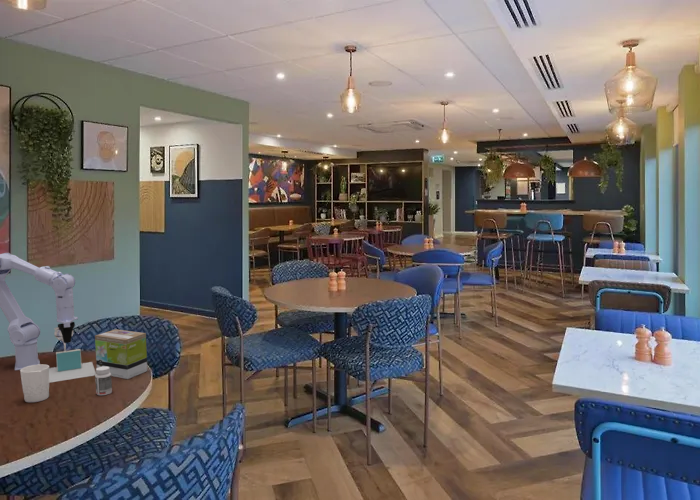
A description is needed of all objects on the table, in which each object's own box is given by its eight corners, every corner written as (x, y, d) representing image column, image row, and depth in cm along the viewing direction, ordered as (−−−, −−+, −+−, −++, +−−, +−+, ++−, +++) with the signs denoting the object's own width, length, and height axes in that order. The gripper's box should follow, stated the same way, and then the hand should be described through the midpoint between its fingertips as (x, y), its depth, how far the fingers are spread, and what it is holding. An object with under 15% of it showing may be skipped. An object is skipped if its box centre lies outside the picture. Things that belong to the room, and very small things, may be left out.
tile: (57, 371, 195) (55, 352, 195) (81, 367, 199) (80, 349, 199) (57, 372, 194) (56, 353, 193) (81, 368, 198) (80, 350, 197)
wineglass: (69, 359, 210) (67, 329, 209) (52, 359, 210) (50, 329, 209) (78, 354, 217) (76, 325, 216) (61, 354, 217) (59, 325, 216)
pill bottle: (115, 391, 175) (114, 366, 174) (104, 396, 171) (103, 371, 170) (104, 389, 177) (102, 365, 176) (92, 394, 172) (91, 369, 171)
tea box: (95, 374, 192) (93, 334, 190) (117, 366, 201) (115, 328, 200) (127, 380, 186) (125, 338, 185) (148, 371, 195) (146, 331, 194)
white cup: (56, 396, 171) (54, 366, 170) (33, 405, 164) (30, 373, 163) (40, 392, 174) (38, 363, 173) (16, 401, 167) (14, 370, 166)
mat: (44, 369, 198) (44, 368, 198) (92, 362, 206) (91, 361, 206) (45, 384, 182) (45, 383, 182) (96, 375, 191) (96, 375, 191)
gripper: (78, 309, 195) (80, 345, 196) (75, 302, 207) (77, 336, 209) (56, 311, 191) (58, 348, 193) (55, 304, 204) (57, 339, 205)
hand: (67, 342), depth 201 cm, fingers closed
